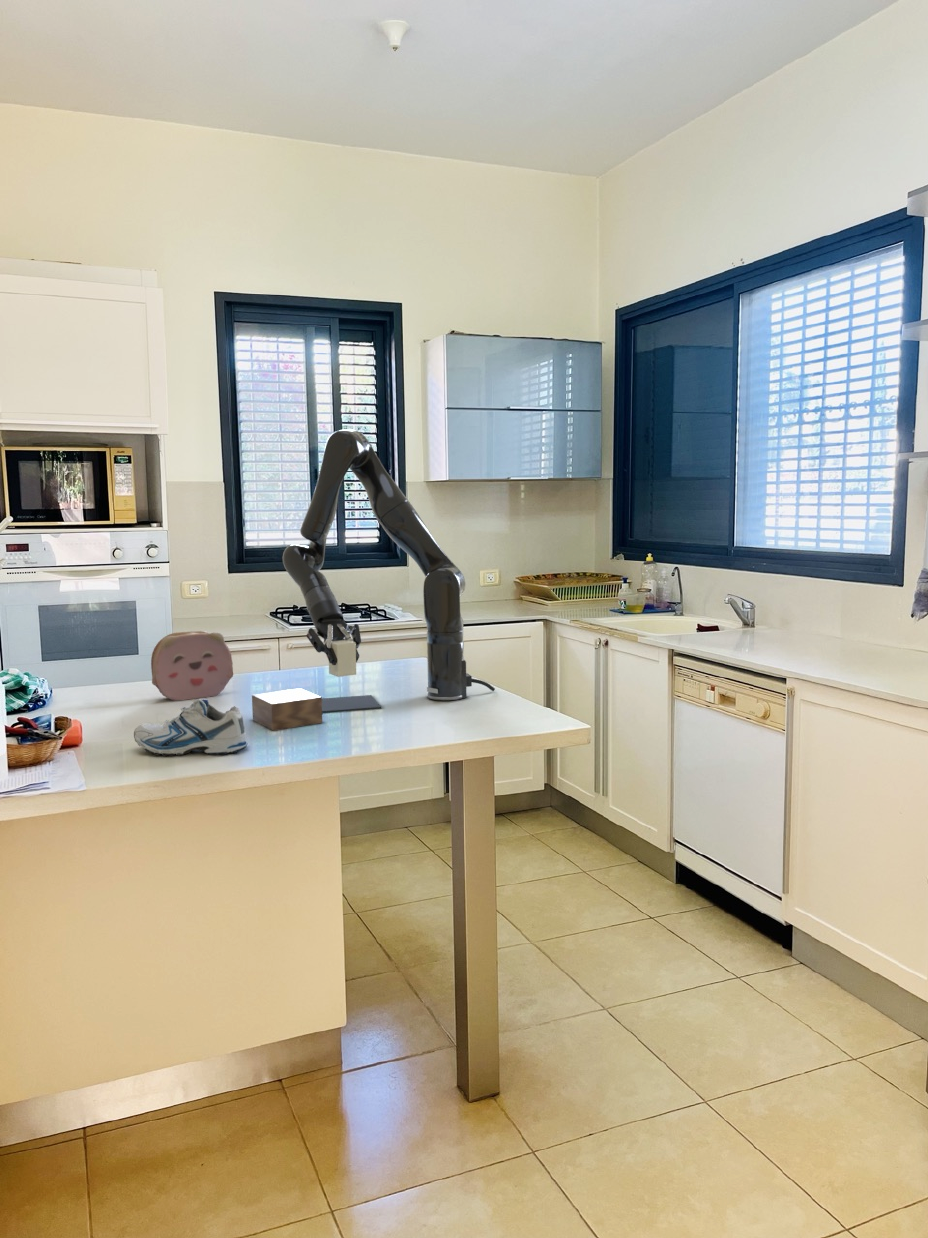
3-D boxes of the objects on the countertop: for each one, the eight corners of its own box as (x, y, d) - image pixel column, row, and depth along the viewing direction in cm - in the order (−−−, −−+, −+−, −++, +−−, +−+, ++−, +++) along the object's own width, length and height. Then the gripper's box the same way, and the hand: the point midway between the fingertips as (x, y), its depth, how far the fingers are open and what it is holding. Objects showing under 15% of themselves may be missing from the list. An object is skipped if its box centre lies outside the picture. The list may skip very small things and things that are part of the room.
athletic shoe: (140, 742, 195) (134, 691, 191) (252, 740, 197) (248, 690, 193) (128, 767, 186) (121, 713, 182) (245, 765, 188) (241, 712, 184)
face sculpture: (156, 703, 234) (152, 638, 231) (150, 698, 239) (146, 634, 237) (235, 694, 244) (232, 631, 241) (227, 689, 250) (224, 628, 247)
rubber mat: (371, 696, 239) (371, 695, 239) (381, 708, 226) (381, 706, 226) (308, 701, 235) (308, 699, 235) (314, 713, 221) (314, 711, 221)
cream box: (347, 671, 233) (346, 639, 232) (356, 674, 228) (355, 642, 227) (328, 673, 230) (328, 641, 229) (337, 677, 226) (337, 644, 225)
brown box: (300, 712, 222) (300, 688, 221) (322, 722, 212) (321, 697, 211) (252, 720, 215) (251, 694, 215) (272, 730, 205) (271, 704, 205)
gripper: (301, 600, 229) (323, 656, 221) (353, 596, 237) (376, 649, 229) (292, 619, 234) (314, 674, 226) (344, 615, 242) (367, 667, 234)
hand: (345, 661), depth 227 cm, fingers closed on cream box, 5 cm apart
